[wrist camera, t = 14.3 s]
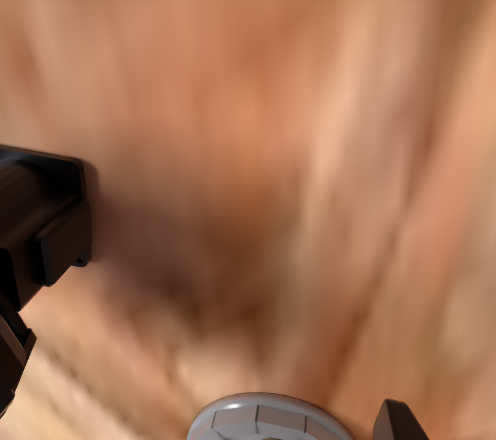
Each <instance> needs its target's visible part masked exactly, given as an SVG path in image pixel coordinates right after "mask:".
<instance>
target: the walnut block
mask: <svg viewBox="0 0 496 440" xmlns="http://www.w3.org/2000/svg"><path fill="white" fill-rule="evenodd" d="M262 440H283V439H278V438H274V437H268V438H265V439H262Z"/></svg>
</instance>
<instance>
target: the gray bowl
mask: <svg viewBox="0 0 496 440" xmlns="http://www.w3.org/2000/svg"><path fill="white" fill-rule="evenodd" d="M268 437H274V438H278V439H283V440H353V438H352V436H351V435H350V433H349V432H348V431H347V430H346V428H345V427H344V426H343V425H342V424H341V423H340V422H338V421H337V420H336V419H335V418H333V417H332V416H331V415H329V414H328V413H326V412H325V411H323V410H321V409H319V408H318V407H315V406H313V405H311V404H309V403H307V402H304V401H301V400H298V399H295V398H291V397H287V396H283V395H277V394H270V393H243V394H235V395H231V396H227V397H224V398H221V399H218V400H216V401H214V402H212V403H210V404H209V405H207V406H206V407H204V408H203V409H202V410H201V411H200V412H199V413H198V414H197V415H196V417H195V418H194V420H193V422H192V425H191V427H190V430H189V434H188V437H187V440H262V439H265V438H268Z"/></svg>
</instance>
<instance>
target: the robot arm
mask: <svg viewBox="0 0 496 440" xmlns="http://www.w3.org/2000/svg"><path fill="white" fill-rule="evenodd" d="M70 166H72V167H73V168H74V169H75V172H74V171H72V170H71V169H70ZM91 243H92V233H91V221H90V208H89V203H88V201H87V200H86V190H85V178H84V168H83V165H82V164H81V162H80V161H78V160H77V159H74V158H70V157H64V156H58V155H52V154H47V153H41V152H35V151H29V150H24V149H18V148H12V147H6V146H1V145H0V419H1V418H2V416H3V415H4V414H5V412H6V410H7V408H8V407H9V406H10V405H11V403H12V401H13V399H14V397H15V391H16V388H17V386H18V383H19V381H20V378H21V376H22V373H23V371H24V369H25V366H26V364H27V361H28V359H29V356H30V354H31V351H32V349H33V347H34V344H35V342H36V339H37V337H36V336H35V334H34V332H33V331H32V329H31V328H28V327H27V326H26V324H25V323H24V321H23V320H22V318H21V317H20V315H19V313H18V312H19V311H21V310H22V309H23V307H24V306H25V305H26V304H27V303H28V302H29V301H30V300H31V299H32V298H33V297H34V296H35V295H36V294H37V292H38V291H39V290H40V289H41V288H42V287H43V286H46V287H50V286H52V285H53V284H55V283H56V282H57V280H58V279H59V278H60V277H61V276H62V275H63V274H64V273H65V272H66V270H67V269H68V268H69V267H70V266H71V265H72V266H77V267H85V266H86V265H87V264H88V263H89V262H90V260H91V250H90V244H91ZM79 256H80V257H82V258H83V259H81V258H80V257H79ZM373 440H429V438H428V436H427V435H426V433H425V432H424V430H423V429H422V427H421V425H420V424H419V422H418V421H417V419H416V417H415V416H414V414H413V413H412V411H411V410H410V408H409V406H408V405H407V404H406V403H404V402H402V401H397V400H393V399H385V400H384V401H383V403H382V406H381V408H380V411H379V413H378V416H377V418H376V421H375V424H374V428H373Z"/></svg>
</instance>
